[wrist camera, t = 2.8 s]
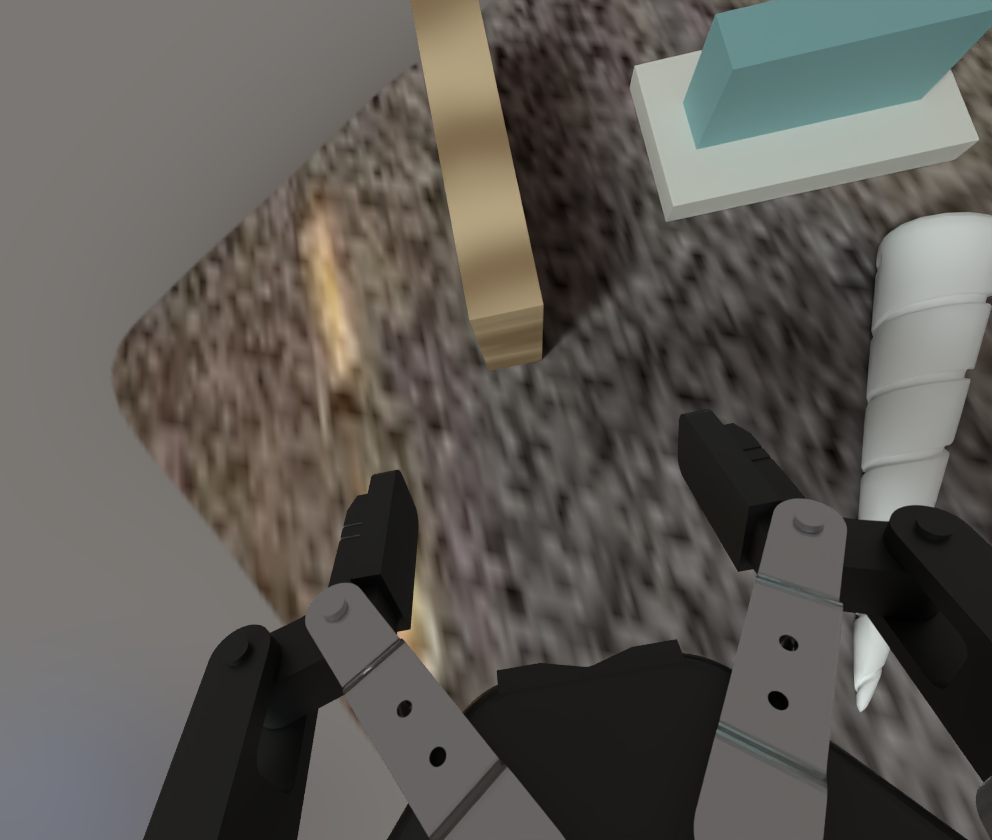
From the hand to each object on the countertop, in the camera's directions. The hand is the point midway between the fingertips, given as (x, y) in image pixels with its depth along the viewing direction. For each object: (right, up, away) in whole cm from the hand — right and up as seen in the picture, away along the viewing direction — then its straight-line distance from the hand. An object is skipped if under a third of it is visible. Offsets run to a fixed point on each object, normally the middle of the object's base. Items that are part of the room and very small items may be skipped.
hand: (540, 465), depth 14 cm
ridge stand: (+15, +19, +14) cm, 28 cm away
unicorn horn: (+19, 0, +11) cm, 22 cm away
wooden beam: (-2, +12, +15) cm, 19 cm away
